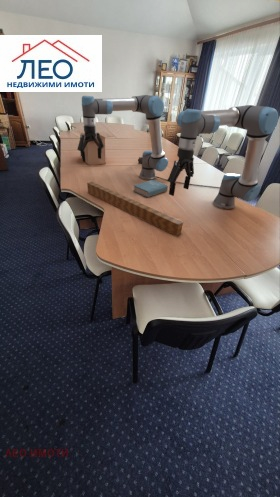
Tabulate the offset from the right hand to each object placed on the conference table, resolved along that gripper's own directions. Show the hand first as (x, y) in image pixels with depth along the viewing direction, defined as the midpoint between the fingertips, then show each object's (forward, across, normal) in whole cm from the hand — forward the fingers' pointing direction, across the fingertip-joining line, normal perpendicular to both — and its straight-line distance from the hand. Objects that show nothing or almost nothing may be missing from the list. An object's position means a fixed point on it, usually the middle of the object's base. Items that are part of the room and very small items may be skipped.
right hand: (178, 191), depth 116 cm
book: (+25, +38, +48) cm, 66 cm away
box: (+25, +54, +142) cm, 154 cm away
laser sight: (+25, +94, +99) cm, 139 cm away
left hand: (0, 0, +73) cm, 73 cm away
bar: (+25, 0, +36) cm, 44 cm away
